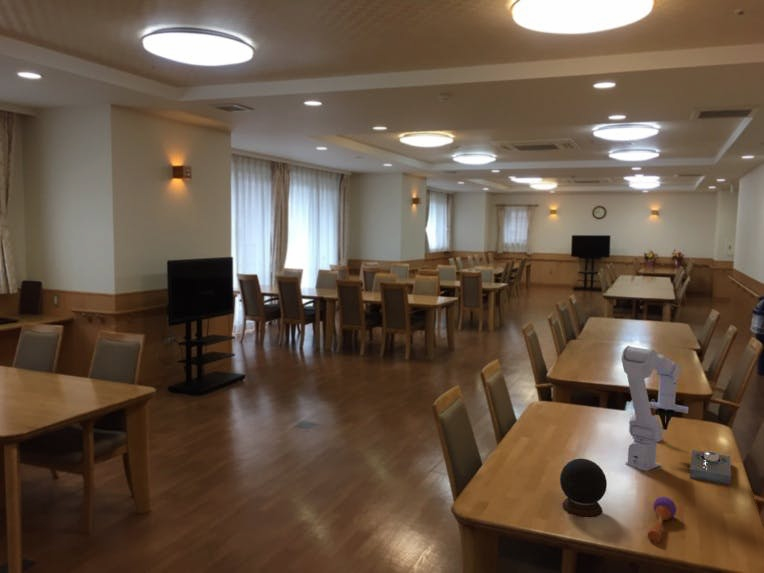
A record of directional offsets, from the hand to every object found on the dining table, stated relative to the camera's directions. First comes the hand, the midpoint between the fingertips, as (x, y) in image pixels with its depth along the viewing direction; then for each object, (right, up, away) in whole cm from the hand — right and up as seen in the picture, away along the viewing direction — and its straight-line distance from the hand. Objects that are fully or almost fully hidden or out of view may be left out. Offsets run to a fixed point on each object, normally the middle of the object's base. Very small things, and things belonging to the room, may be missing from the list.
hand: (665, 428), depth 221 cm
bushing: (+11, -11, -12) cm, 19 cm away
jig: (+9, -11, -15) cm, 20 cm away
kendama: (-27, -15, -54) cm, 62 cm away
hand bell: (+3, -8, +18) cm, 20 cm away
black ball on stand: (-46, -14, -44) cm, 65 cm away
